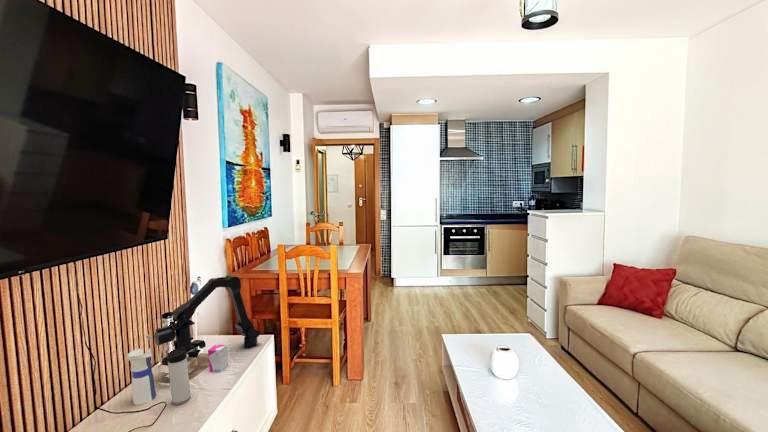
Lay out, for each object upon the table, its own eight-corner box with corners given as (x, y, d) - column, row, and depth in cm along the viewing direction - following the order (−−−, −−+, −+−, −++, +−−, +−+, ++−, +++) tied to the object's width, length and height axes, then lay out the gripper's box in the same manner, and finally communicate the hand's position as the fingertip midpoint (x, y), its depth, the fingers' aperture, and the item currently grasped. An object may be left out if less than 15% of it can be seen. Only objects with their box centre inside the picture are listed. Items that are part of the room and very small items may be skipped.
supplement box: (229, 368, 158) (227, 344, 157) (221, 375, 153) (219, 350, 152) (217, 368, 159) (214, 344, 158) (209, 375, 153) (207, 350, 152)
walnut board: (201, 355, 172) (200, 352, 171) (225, 358, 168) (225, 355, 168) (162, 380, 150) (162, 377, 150) (189, 383, 147) (189, 380, 147)
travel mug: (195, 396, 138) (190, 347, 136) (180, 406, 132) (175, 355, 130) (183, 393, 140) (178, 345, 138) (168, 403, 134) (163, 353, 132)
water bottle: (140, 393, 142) (133, 333, 139) (161, 391, 142) (155, 332, 140) (126, 405, 134) (119, 343, 131) (149, 404, 134) (142, 341, 132)
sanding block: (183, 367, 158) (182, 356, 157) (198, 368, 156) (197, 358, 155) (174, 372, 153) (173, 361, 152) (189, 374, 151) (188, 363, 150)
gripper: (185, 327, 164) (188, 358, 165) (149, 345, 146) (153, 380, 147) (205, 328, 161) (208, 360, 163) (171, 347, 143) (174, 383, 145)
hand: (186, 370), depth 154 cm, fingers closed on sanding block, 5 cm apart
